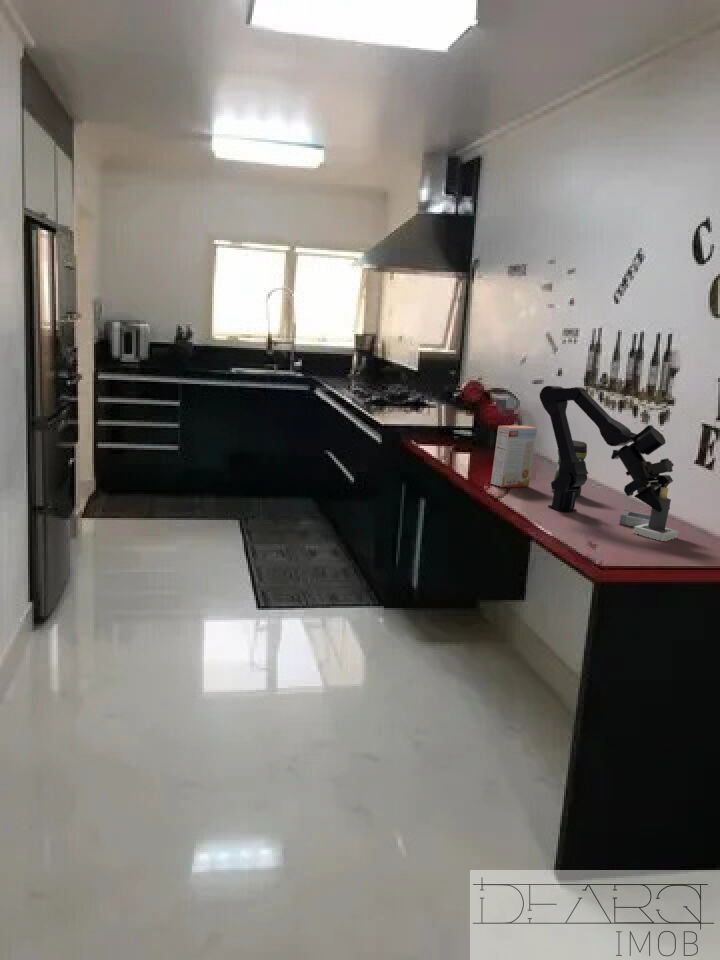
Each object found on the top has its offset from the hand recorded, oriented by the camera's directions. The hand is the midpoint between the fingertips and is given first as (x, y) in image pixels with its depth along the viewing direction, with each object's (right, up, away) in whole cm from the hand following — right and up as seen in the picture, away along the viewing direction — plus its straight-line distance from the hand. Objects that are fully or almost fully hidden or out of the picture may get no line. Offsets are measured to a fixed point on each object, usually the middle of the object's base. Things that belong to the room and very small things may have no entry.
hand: (664, 510), depth 224 cm
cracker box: (-34, +6, +53) cm, 63 cm away
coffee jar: (-15, +4, +50) cm, 53 cm away
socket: (-2, -7, +2) cm, 8 cm away
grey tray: (-2, -5, +13) cm, 14 cm away
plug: (-2, -6, +2) cm, 7 cm away
